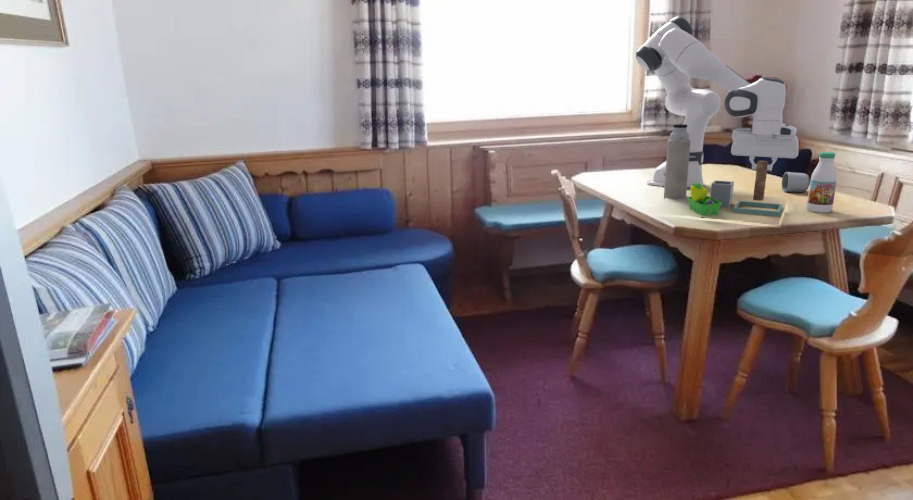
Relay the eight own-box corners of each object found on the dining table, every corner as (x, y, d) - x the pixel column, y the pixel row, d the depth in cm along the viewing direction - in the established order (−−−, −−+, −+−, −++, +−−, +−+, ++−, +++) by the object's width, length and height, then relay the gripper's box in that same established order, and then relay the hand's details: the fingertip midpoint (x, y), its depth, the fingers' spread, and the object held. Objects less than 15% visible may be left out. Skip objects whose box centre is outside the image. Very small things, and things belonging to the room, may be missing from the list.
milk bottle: (801, 208, 220) (809, 151, 214) (822, 207, 221) (830, 150, 215) (815, 213, 213) (823, 154, 207) (837, 212, 213) (846, 153, 207)
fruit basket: (721, 217, 212) (725, 184, 208) (696, 219, 211) (699, 186, 208) (706, 209, 222) (709, 178, 219) (682, 211, 222) (684, 179, 218)
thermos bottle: (663, 196, 244) (669, 123, 236) (685, 197, 242) (691, 123, 234) (663, 200, 237) (668, 125, 229) (685, 201, 235) (692, 125, 226)
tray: (732, 215, 214) (733, 207, 214) (738, 207, 224) (738, 200, 223) (778, 219, 207) (779, 211, 207) (781, 211, 217) (782, 204, 216)
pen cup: (709, 208, 224) (711, 183, 221) (712, 204, 229) (714, 180, 226) (728, 210, 221) (731, 185, 218) (731, 206, 226) (733, 181, 223)
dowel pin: (752, 200, 214) (756, 162, 210) (753, 198, 216) (758, 160, 213) (762, 200, 212) (767, 162, 208) (764, 199, 215) (768, 161, 211)
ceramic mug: (809, 193, 242) (812, 173, 239) (786, 193, 243) (789, 173, 240) (799, 188, 252) (801, 169, 249) (777, 188, 253) (779, 169, 251)
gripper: (731, 128, 210) (727, 169, 214) (800, 130, 200) (794, 173, 204) (734, 126, 215) (730, 166, 219) (801, 128, 205) (796, 170, 209)
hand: (761, 170), depth 211 cm, fingers closed on dowel pin, 3 cm apart
